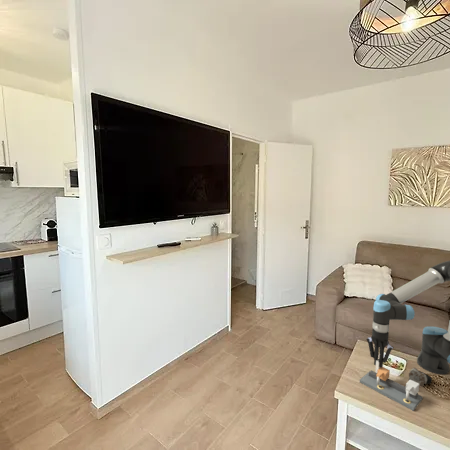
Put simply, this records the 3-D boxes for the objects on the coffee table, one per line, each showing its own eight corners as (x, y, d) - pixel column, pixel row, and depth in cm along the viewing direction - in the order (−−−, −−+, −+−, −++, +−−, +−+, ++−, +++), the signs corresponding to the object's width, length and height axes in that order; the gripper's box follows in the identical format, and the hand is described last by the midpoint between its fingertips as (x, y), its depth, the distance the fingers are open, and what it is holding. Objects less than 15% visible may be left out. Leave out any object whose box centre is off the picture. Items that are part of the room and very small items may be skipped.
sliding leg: (381, 375, 147) (381, 366, 147) (389, 379, 144) (389, 370, 144) (373, 382, 142) (373, 373, 141) (381, 386, 139) (382, 377, 138)
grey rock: (426, 382, 149) (433, 391, 140) (403, 373, 153) (408, 381, 144) (430, 370, 149) (437, 379, 140) (406, 362, 153) (411, 370, 144)
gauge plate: (369, 373, 153) (370, 360, 152) (422, 399, 133) (423, 384, 133) (359, 382, 146) (360, 368, 145) (413, 411, 126) (414, 395, 125)
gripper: (364, 327, 146) (362, 368, 149) (390, 337, 136) (388, 381, 139) (371, 323, 151) (368, 363, 153) (397, 332, 141) (394, 375, 143)
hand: (377, 371), depth 146 cm, fingers closed
